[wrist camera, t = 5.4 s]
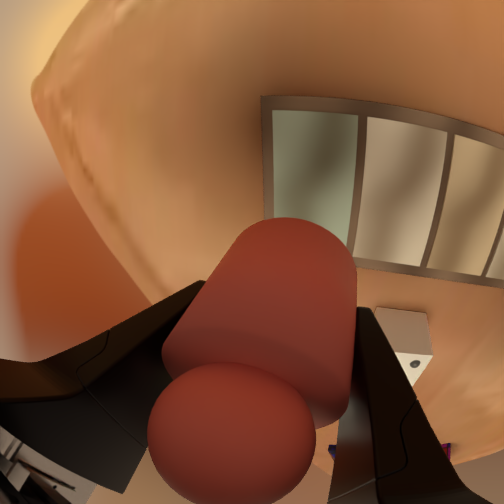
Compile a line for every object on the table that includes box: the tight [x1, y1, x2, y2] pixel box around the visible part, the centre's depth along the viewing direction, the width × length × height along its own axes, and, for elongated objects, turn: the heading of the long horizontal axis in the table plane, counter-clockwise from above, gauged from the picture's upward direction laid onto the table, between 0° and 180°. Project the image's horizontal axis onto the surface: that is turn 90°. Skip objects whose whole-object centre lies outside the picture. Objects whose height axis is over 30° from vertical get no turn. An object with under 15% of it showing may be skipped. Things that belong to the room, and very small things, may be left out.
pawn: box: [147, 217, 357, 504], centre depth 6 cm, size 4×4×7 cm
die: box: [374, 307, 433, 386], centre depth 21 cm, size 5×5×5 cm
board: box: [261, 96, 504, 289], centre depth 16 cm, size 25×12×1 cm, turn 93°
